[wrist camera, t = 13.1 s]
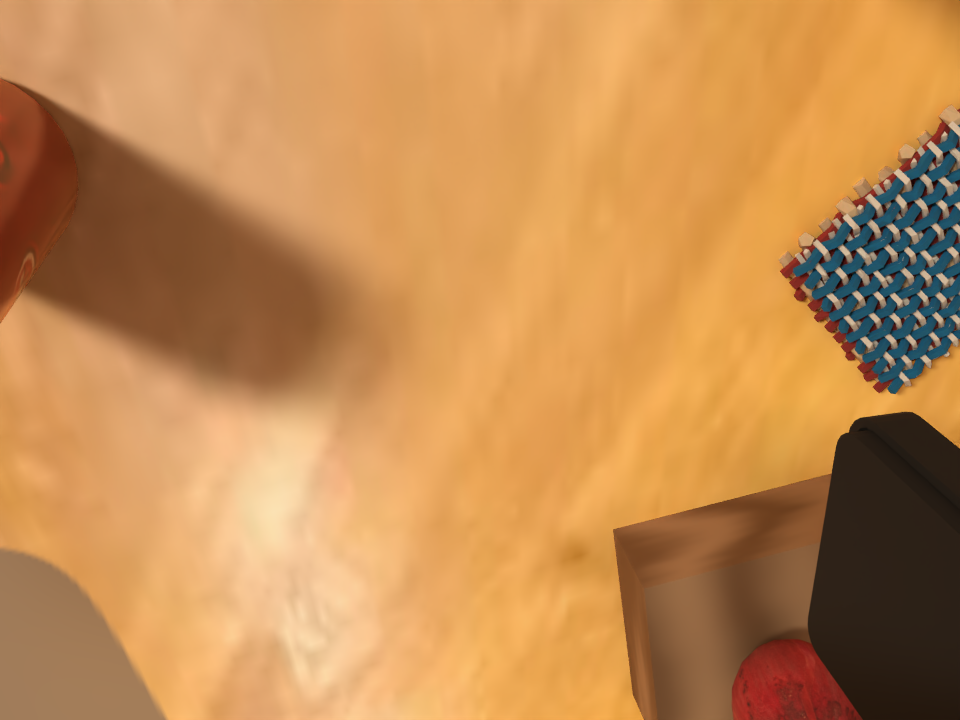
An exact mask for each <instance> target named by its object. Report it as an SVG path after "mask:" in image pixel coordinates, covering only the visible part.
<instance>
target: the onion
mask: <svg viewBox="0 0 960 720" xmlns="http://www.w3.org/2000/svg"><path fill="white" fill-rule="evenodd" d="M732 712H733V720H863V719H862V718H861V716H860V715H859V714H858V712H857V711H856V709H855V708H854V707H853V705H852V704H851V702H850V701H849V699H848V698H847V697H846V695H845V694H844V692H843V691H842V689H841V688H840V687H839V685H838V684H837V682H836V681H835V679H834V678H833V677H832V675H831V674H830V672H829V671H828V670H827V668H826V667H825V665H824V664H823V662H822V661H821V660H820V658H819V657H818V655H817V654H816V652H815V650H814V648H813V646H812V643H809V642H806V641H803V640H800V639H783V640H773V641H771V642H768V643H766V644H763V645H761V646H758V647H757V648H756V649H755V650H754V651H753V652H752V653H751V654H750V655H749V656H748V657H747V658H746V659H745V660H744V661H742V663H741V666H740V668H739V670H738V673H737V675H736V677H735V680H734V683H733V686H732Z"/></svg>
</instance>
